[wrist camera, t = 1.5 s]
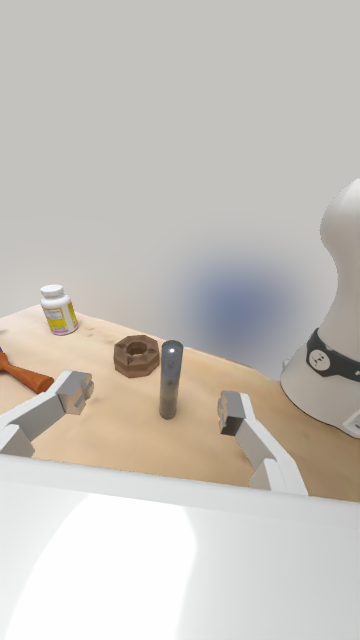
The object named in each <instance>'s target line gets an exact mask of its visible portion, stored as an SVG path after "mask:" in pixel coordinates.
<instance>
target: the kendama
mask: <svg viewBox="0 0 360 640" xmlns="http://www.w3.org/2000/svg"><path fill="white" fill-rule="evenodd" d="M0 370H6V371H7V372H9V373H10V374H11V375H13V376H14V377H16V378H17V379H18V380H20V381H21V382H23V383H24V384H25V385H27V386H28V387H30V388H31V389H32V390H34V391H35V392H37V393H38V394H40V393H42V392H46V391H47V390H48V389H49V388H50V386H51V385H52V384H53V383H54V379H53V378H52V377H49V376H45V375H42V374H39V373H35V372H32V371H29V370H25V369H22V368H19V367H15V366H12V365H9V362H8V359H7V357H6V355H5V353H3V351H2V349H1V347H0Z"/></svg>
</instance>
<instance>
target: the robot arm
mask: <svg viewBox="0 0 360 640" xmlns="http://www.w3.org/2000/svg"><path fill="white" fill-rule="evenodd" d="M320 235H321V240H322V242H323V244H324V246H325V247H326V249H327V250H328V251H329V252H330V254H331V256H332V257H333V260H334V262H335V265H336V268H337V273H338V288H337V293H336V296H335V299H334V302H333V303H332V306H331V308H330V310H329V312H328V314H327V315H326V317H325V319H324V321H323V323H322V324H321V326H320V327H319V328H317V329H316V330H315V331H314V332H313V333H312V334H311V336H310V338H309V340H308V342H307V343H303V344H301V345H300V347H299V348H298V349H297V350H296V352H295V353H294V354H293V356H292V357H291V359H290V360H284V362H283V372H282V373H281V377H280V382H281V386H282V388H283V390H284V392H285V393H286V395H287V396H288V397H289V398H290V400H291V401H292V402H293V403H294V404H295V405H297V406H298V407H299V408H300V409H301V410H303V411H304V412H305V413H307V414H308V415H310V416H312V417H314V418H315V419H317V420H320V421H322V422H324V423H327V424H330V425H333V426H335V427H337V428H339V429H341V430H342V431H344V432H345V433H347V434H349V435H351V436H353V437H355V438H360V178H359V179H356V180H355V181H353V182H352V183H351V184H350V185H348V186H347V187H346V188H344V189H343V190H342V191H341V192H340V193H339V194H338V195H337V196H336V197H335V198H334V200H333V201H332V202H331V204H330V205H329V206H328V208H327V210H326V211H325V214H324V216H323V218H322V222H321V228H320ZM91 379H92V375H91V374H89V373H83V372H77V371H70V370H65V371H63V372H62V374H61V375H60V376H59V377H58V378H57V379H56V381H55V382H54V383H53V384H52V385H51V386H50V388H49V389H48V390H47V391H46V392H42V393H40V394H38V395H37V396H35V397H33V398H31V399H29V400H27V401H26V402H24V403H22V404H20V405H18V406H16V407H15V408H13V409H11V410H9V411H7V412H5V413H3V414H2V415H0V640H360V503H358V502H351V501H344V500H336V499H329V498H322V497H315V496H309V494H308V492H307V489H306V487H305V484H304V482H303V480H302V477H301V475H300V472H299V470H298V467H297V465H296V462H295V461H294V460H293V459H292V457H291V456H290V455H289V454H288V453H287V452H286V451H285V450H284V448H283V447H282V446H281V445H280V444H279V443H278V442H277V441H276V439H275V438H274V437H273V436H272V435H271V434H270V433H269V432H268V430H267V429H266V428H265V427H264V426H263V425H262V424H261V423H260V421H258V420H256V418H255V415H254V412H253V408H252V405H251V402H250V398H249V395H248V394H246V393H238V392H232V391H222V392H221V398H220V399H219V401H218V415H219V417H220V421H219V427H220V434H224V435H231V436H235V438H236V440H237V442H238V443H239V445H240V446H241V448H242V450H243V451H244V453H245V454H246V456H247V458H248V459H249V461H250V462H251V464H252V466H253V467H254V469H255V472H254V474H253V475H252V476H251V478H250V479H249V485H250V488H249V487H242V486H234V485H227V484H220V483H212V482H205V481H198V480H190V479H183V478H176V477H169V476H161V475H154V474H147V473H139V472H132V471H125V470H117V469H110V468H103V467H96V466H88V465H81V464H74V463H66V462H59V461H52V460H44V459H37V458H31V456H32V455H33V453H34V452H35V448H34V447H33V445H32V444H31V441H32V440H34V439H35V438H36V437H38V436H39V435H40V434H41V433H43V432H44V431H45V430H46V429H48V428H49V427H50V426H51V425H53V424H54V423H55V422H56V421H58V420H59V419H60V418H62V417H63V416H64V415H65V414H74V415H80V414H81V412H82V410H83V409H84V407H85V405H86V402H85V401H86V400H87V399H89V398H90V397H91V395H92V393H93V389H94V383H93V382H92V381H91Z"/></svg>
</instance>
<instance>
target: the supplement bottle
mask: <svg viewBox="0 0 360 640" xmlns="http://www.w3.org/2000/svg"><path fill="white" fill-rule="evenodd" d="M63 291H64V290H63V287H62V286H61V285H48V286H45V287H42V288H41V293H42V295H43V296H44V297H43V298H42V300H41V306H42V308H43V311H44V313H45V316H46V318H47V321H48V323H49V326H50V328H51V331H52V332H53V333H54V334H57V335H65V334H69V333H71V332H73V331H75V330H76V329H77V327H78V324H77V320H76V317H75V313H74V310H73V306H72V303H71V299H70V297H69V296H68V295H66V294H64V293H63Z"/></svg>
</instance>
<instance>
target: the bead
mask: <svg viewBox="0 0 360 640" xmlns="http://www.w3.org/2000/svg"><path fill="white" fill-rule="evenodd" d="M133 354H143V355H139V356H132V355H133ZM114 363H115V369H116V370H117V371H118V372H120V373H121V374H123V375H125V376H126V377H128V378H135V377H142V376H148V375H149V374H150V373H151V372H152V371H153V370H154V369H155V368H156V367H157V366H158V365H159V348H158V343H157V341H156V340H154V339H152V338H150V337H148V336H146V335H136V336H127V337H126V338H124V339H123V340H121V341H120V342H118V343H117V344H115V348H114Z"/></svg>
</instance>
